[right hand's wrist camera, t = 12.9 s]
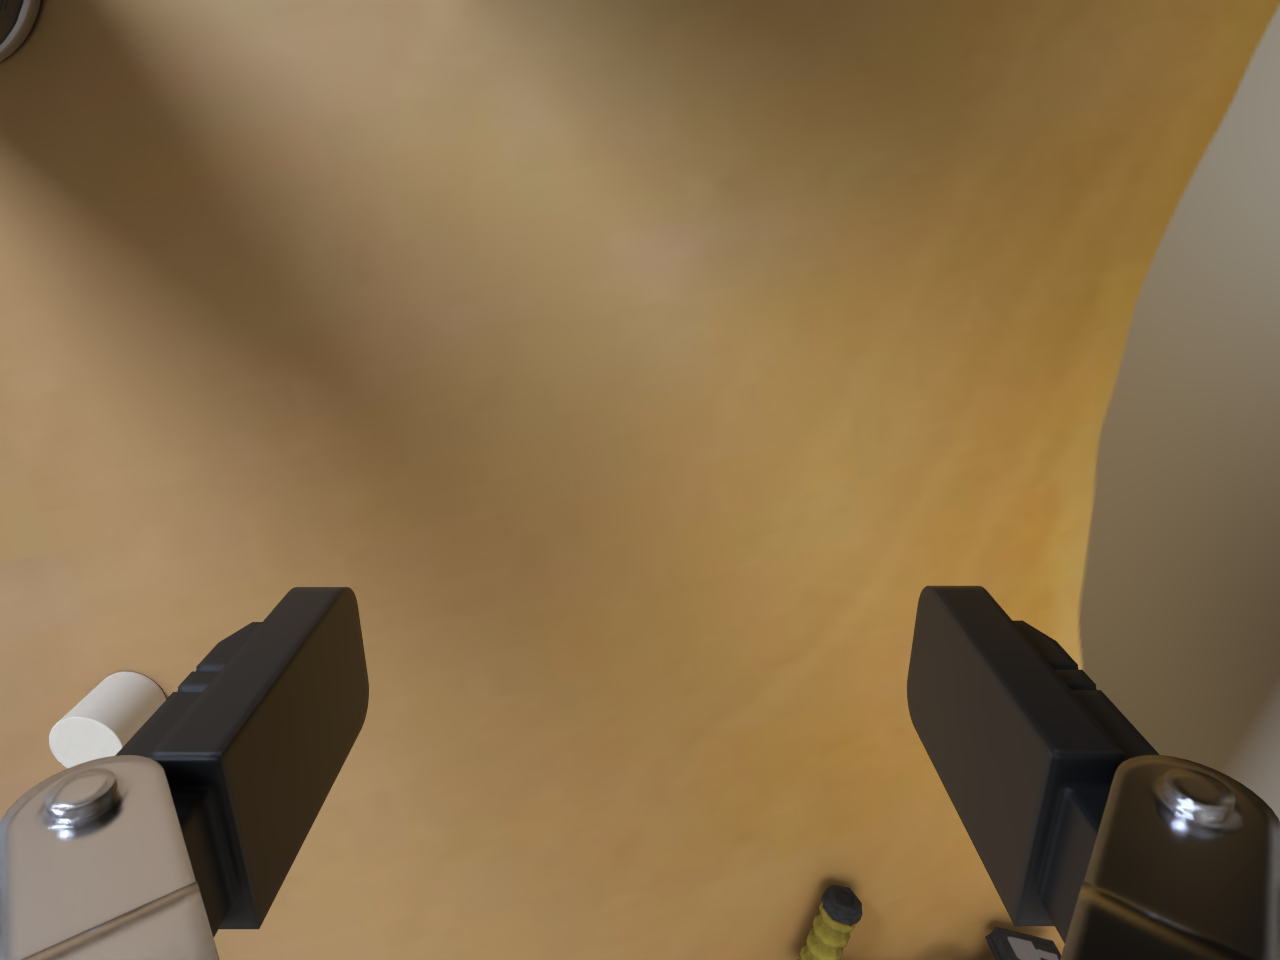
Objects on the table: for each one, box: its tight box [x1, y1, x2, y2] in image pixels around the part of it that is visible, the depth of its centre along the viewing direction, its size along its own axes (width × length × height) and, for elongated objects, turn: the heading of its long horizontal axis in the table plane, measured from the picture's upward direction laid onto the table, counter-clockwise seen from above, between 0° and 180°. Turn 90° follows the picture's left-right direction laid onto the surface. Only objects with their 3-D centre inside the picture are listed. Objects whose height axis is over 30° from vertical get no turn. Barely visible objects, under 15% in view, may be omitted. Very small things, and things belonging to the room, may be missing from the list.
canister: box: [49, 672, 166, 768], centre depth 45 cm, size 4×4×4 cm
